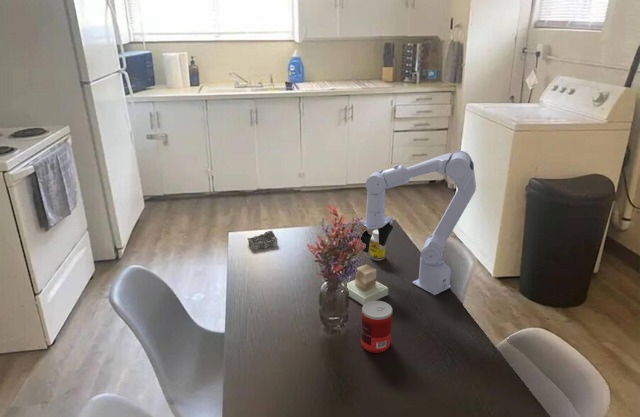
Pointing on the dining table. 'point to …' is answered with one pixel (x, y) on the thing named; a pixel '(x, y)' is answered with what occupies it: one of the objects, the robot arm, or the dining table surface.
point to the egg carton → (263, 240)
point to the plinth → (366, 292)
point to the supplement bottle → (376, 247)
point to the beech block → (365, 277)
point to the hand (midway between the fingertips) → (373, 248)
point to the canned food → (376, 326)
